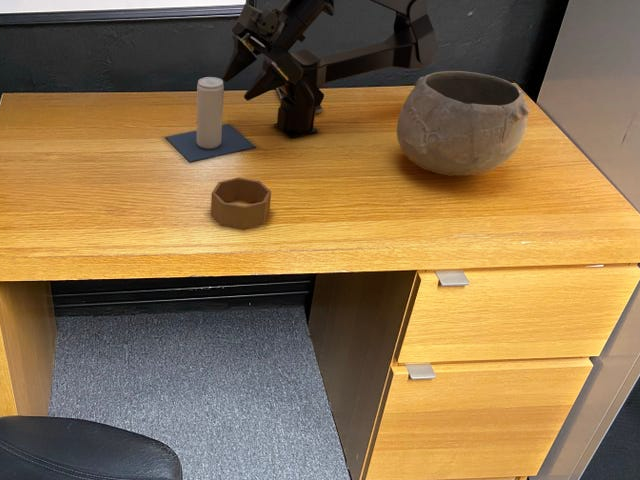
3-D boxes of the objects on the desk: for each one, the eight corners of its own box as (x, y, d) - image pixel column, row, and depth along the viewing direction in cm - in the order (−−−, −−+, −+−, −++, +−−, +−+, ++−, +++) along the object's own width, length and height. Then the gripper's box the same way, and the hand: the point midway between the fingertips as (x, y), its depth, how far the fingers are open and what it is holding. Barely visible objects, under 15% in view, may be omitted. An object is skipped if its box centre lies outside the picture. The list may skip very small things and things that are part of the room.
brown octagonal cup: (250, 195, 119) (252, 173, 116) (277, 220, 113) (279, 198, 110) (203, 206, 116) (204, 185, 114) (228, 233, 111) (229, 211, 108)
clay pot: (374, 143, 133) (391, 64, 123) (479, 139, 135) (504, 59, 124) (411, 199, 118) (433, 114, 108) (529, 193, 119) (562, 108, 109)
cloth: (228, 125, 139) (228, 123, 139) (255, 147, 132) (255, 146, 132) (165, 138, 135) (165, 136, 135) (189, 162, 128) (189, 161, 128)
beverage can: (207, 152, 130) (209, 89, 122) (190, 143, 133) (191, 81, 124) (226, 145, 132) (229, 82, 124) (209, 136, 135) (211, 74, 127)
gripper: (244, -28, 123) (186, 44, 128) (295, 2, 111) (229, 81, 115) (279, 14, 131) (223, 81, 135) (330, 46, 118) (267, 119, 123)
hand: (234, 89), depth 127 cm, fingers open, 9 cm apart
